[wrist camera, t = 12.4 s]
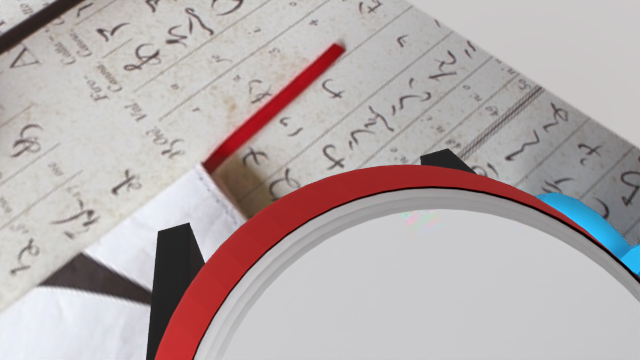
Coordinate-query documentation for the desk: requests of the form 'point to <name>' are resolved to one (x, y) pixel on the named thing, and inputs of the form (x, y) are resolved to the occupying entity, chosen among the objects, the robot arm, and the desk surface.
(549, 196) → the mug
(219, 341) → the beverage can
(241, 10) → the desk surface
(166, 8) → the desk surface
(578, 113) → the desk surface
